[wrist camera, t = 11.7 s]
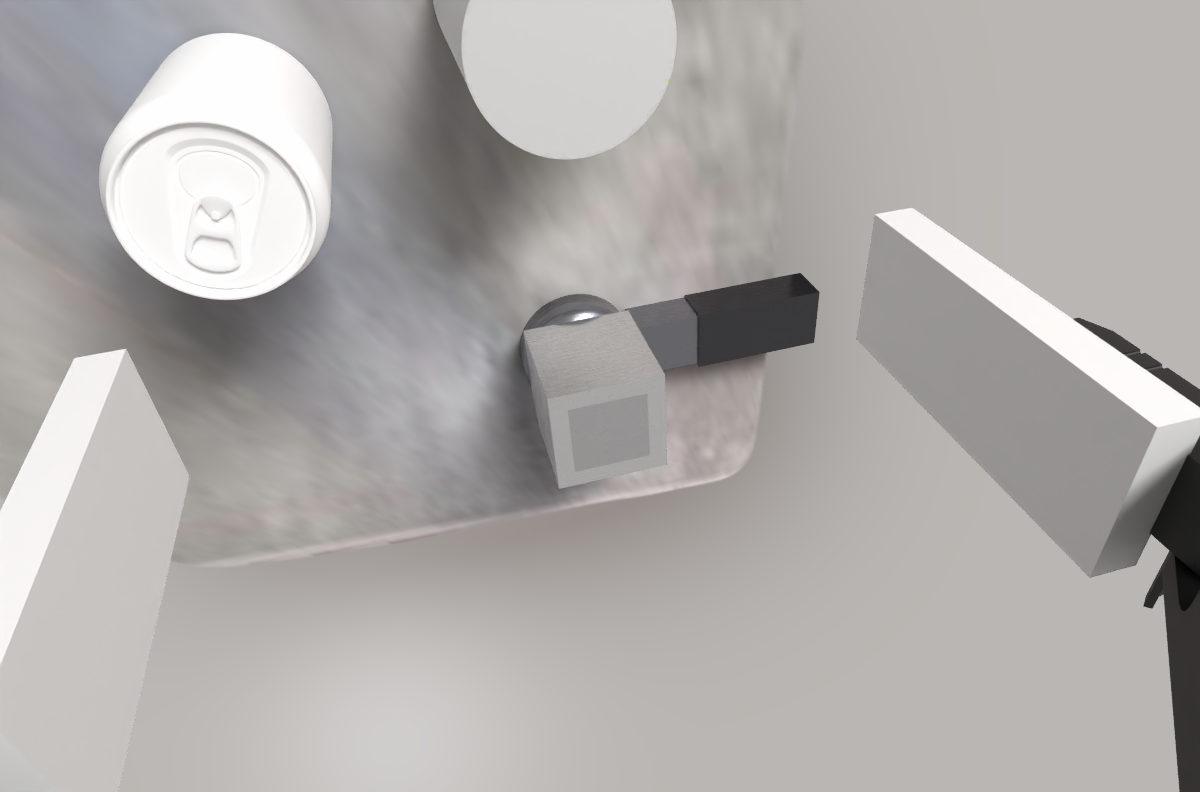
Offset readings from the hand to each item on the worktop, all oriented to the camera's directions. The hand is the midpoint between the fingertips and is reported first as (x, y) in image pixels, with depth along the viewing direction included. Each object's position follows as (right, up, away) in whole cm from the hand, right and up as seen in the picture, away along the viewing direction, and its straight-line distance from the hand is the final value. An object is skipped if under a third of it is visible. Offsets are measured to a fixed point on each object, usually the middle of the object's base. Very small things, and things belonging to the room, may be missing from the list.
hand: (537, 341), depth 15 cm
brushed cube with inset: (0, +1, +35) cm, 35 cm away
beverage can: (-16, +13, +25) cm, 32 cm away
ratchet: (+5, +4, +38) cm, 39 cm away
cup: (-3, +19, +25) cm, 31 cm away
